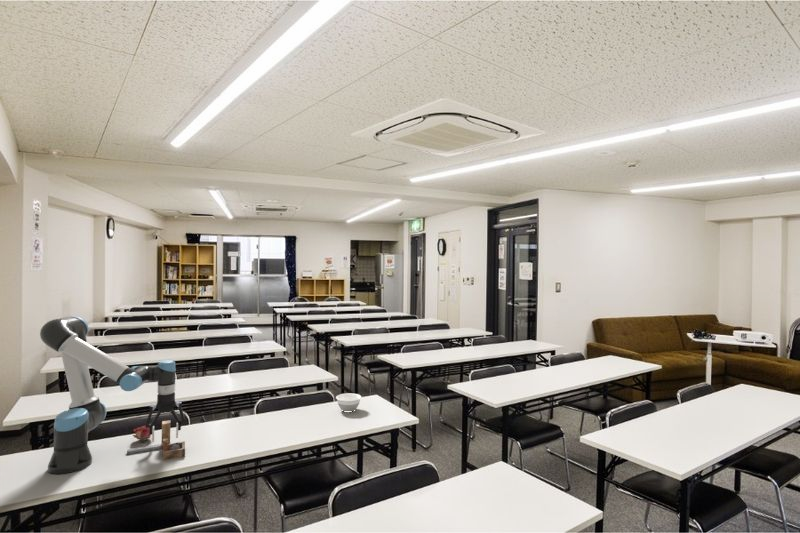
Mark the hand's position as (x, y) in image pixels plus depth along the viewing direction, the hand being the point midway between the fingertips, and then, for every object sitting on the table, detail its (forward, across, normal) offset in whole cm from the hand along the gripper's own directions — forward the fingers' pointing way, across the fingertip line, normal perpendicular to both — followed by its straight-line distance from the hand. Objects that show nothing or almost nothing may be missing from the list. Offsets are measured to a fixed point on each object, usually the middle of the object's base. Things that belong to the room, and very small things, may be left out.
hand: (165, 438), depth 202 cm
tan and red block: (+4, 0, -5) cm, 6 cm away
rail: (+4, -6, 0) cm, 8 cm away
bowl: (+4, +100, +12) cm, 101 cm away
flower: (+4, -10, +14) cm, 18 cm away
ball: (+2, +4, -10) cm, 12 cm away
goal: (+4, +4, -10) cm, 12 cm away
